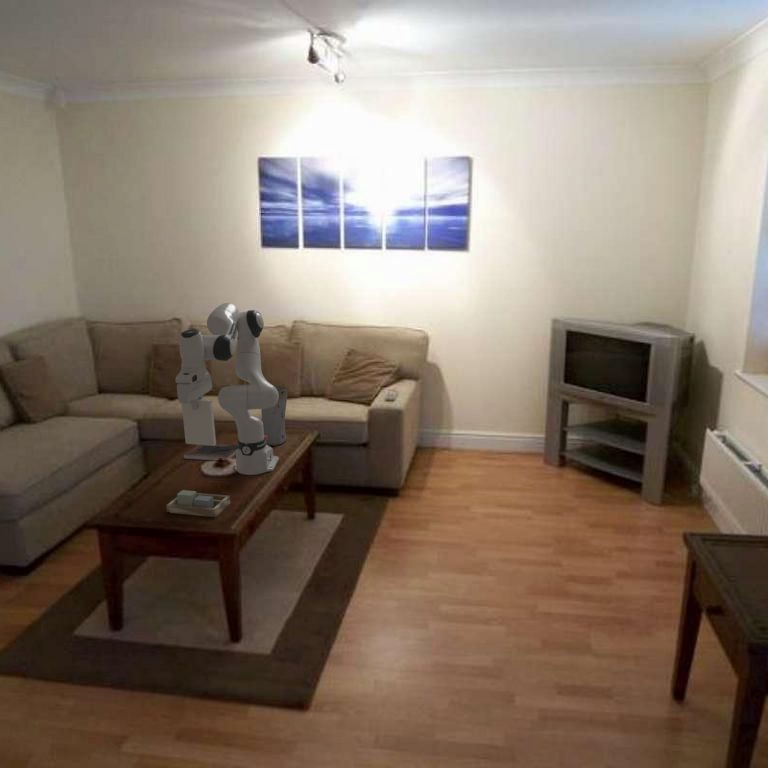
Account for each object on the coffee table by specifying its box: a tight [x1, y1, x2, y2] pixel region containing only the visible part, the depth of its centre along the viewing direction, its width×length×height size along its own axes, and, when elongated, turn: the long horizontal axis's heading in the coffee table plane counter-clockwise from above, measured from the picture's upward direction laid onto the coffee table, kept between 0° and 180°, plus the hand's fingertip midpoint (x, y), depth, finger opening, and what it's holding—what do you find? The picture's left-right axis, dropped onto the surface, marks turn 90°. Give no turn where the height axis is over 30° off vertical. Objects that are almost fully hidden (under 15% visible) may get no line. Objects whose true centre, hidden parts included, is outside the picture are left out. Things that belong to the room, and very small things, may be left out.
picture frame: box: [183, 443, 239, 461], centre depth 316 cm, size 16×2×22 cm
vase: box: [260, 384, 288, 447], centre depth 327 cm, size 13×14×28 cm
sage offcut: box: [176, 489, 197, 507], centre depth 258 cm, size 4×6×7 cm, turn 77°
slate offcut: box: [194, 495, 214, 508], centre depth 256 cm, size 4×6×6 cm, turn 77°
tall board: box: [181, 398, 217, 446], centre depth 256 cm, size 2×12×18 cm, turn 77°
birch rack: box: [165, 492, 231, 518], centre depth 259 cm, size 13×20×3 cm, turn 77°
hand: (197, 408), depth 255 cm, fingers closed on tall board, 2 cm apart
